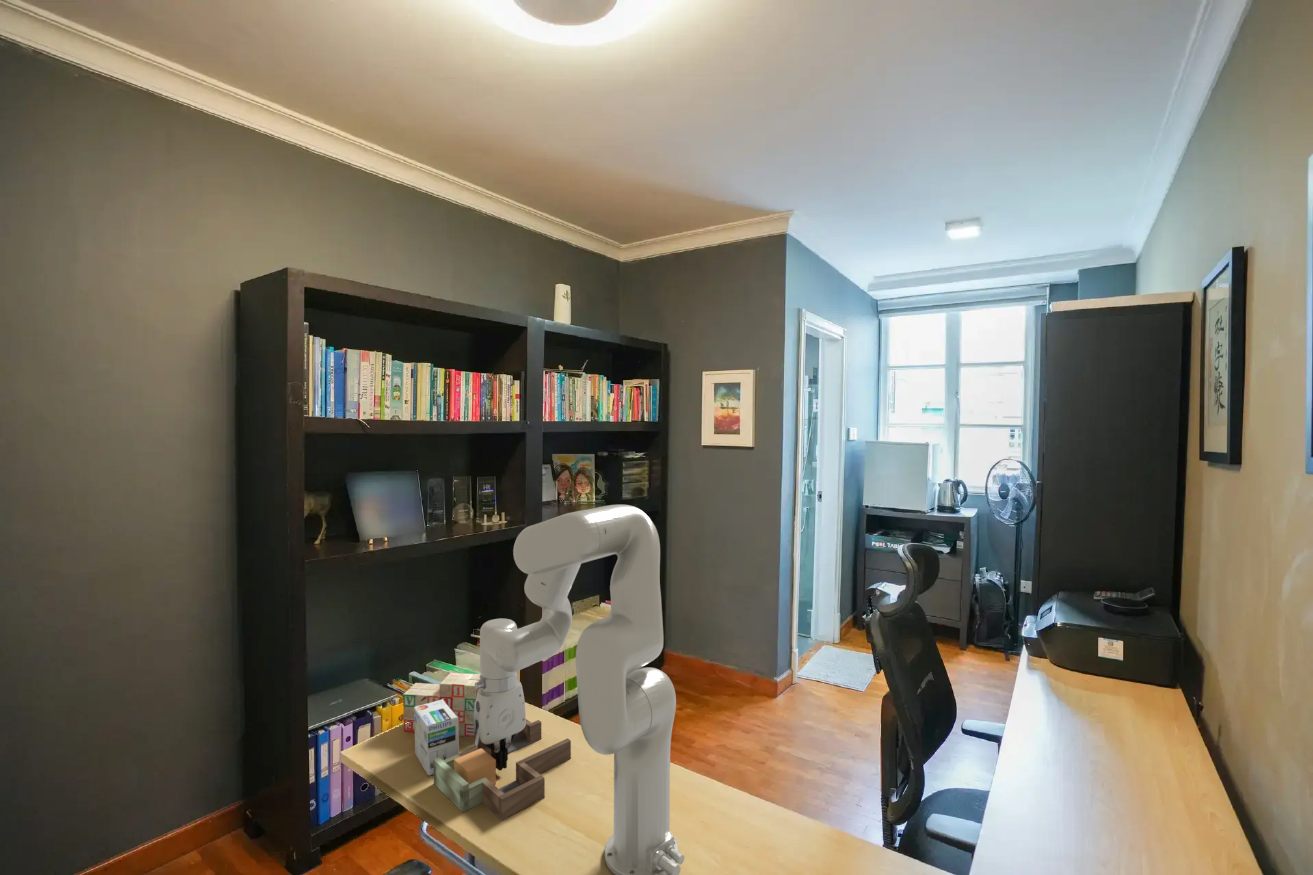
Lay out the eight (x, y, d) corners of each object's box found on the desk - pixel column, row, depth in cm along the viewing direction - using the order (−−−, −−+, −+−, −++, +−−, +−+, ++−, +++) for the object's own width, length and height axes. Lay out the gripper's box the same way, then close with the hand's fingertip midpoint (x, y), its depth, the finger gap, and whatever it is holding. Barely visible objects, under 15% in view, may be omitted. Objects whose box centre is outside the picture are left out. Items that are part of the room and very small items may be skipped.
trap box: (591, 772, 126) (591, 748, 126) (482, 830, 108) (482, 803, 108) (521, 725, 145) (521, 705, 144) (418, 768, 127) (418, 745, 127)
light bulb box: (460, 766, 128) (459, 716, 128) (427, 777, 124) (427, 726, 123) (444, 744, 136) (443, 697, 136) (413, 753, 132) (412, 706, 132)
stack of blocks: (402, 732, 142) (402, 681, 141) (416, 719, 148) (415, 670, 147) (489, 738, 139) (489, 686, 139) (499, 724, 145) (499, 674, 145)
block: (495, 783, 122) (495, 759, 122) (468, 796, 118) (468, 771, 117) (481, 771, 126) (481, 747, 126) (454, 783, 122) (454, 759, 122)
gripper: (474, 698, 117) (475, 790, 118) (539, 675, 127) (539, 759, 128) (456, 685, 122) (457, 773, 123) (520, 664, 133) (520, 745, 133)
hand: (499, 766), depth 125 cm, fingers closed
